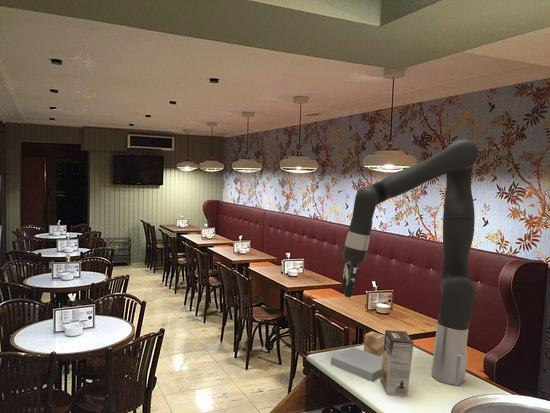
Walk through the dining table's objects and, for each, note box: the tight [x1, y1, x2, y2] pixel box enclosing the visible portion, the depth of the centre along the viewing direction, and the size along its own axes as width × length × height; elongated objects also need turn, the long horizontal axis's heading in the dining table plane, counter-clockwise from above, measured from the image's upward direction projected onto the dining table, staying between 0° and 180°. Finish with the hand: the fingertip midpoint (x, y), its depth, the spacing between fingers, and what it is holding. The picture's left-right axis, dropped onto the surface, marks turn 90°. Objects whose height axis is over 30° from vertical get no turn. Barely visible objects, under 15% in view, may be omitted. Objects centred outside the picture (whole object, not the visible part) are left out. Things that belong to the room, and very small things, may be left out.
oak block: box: [363, 331, 385, 357], centre depth 156 cm, size 5×5×7 cm
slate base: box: [330, 346, 383, 382], centre depth 145 cm, size 15×14×2 cm
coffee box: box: [379, 329, 415, 397], centre depth 130 cm, size 9×6×16 cm
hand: (345, 293), depth 149 cm, fingers open, 8 cm apart
